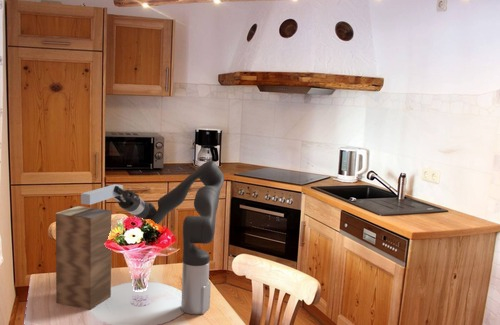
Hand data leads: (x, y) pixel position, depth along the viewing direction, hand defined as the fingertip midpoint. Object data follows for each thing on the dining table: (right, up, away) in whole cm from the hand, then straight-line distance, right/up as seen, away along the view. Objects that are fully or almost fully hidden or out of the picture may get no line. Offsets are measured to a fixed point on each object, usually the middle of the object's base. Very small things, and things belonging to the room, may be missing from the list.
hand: (110, 187), depth 176 cm
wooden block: (-8, -40, -4) cm, 41 cm away
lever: (-2, -4, -4) cm, 6 cm away
